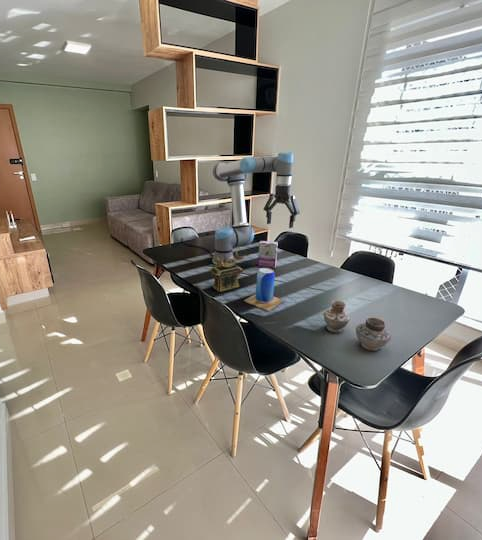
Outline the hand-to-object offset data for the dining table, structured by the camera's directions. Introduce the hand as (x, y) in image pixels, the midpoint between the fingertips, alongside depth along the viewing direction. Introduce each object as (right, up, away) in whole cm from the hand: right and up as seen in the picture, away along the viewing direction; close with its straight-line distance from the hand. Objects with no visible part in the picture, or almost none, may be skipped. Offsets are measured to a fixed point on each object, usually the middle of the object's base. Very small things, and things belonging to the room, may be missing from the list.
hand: (279, 225), depth 155 cm
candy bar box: (0, -22, +31) cm, 38 cm away
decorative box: (-27, -33, +4) cm, 43 cm away
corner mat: (-11, -40, -13) cm, 43 cm away
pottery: (+17, -51, -42) cm, 68 cm away
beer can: (-11, -39, -13) cm, 43 cm away
